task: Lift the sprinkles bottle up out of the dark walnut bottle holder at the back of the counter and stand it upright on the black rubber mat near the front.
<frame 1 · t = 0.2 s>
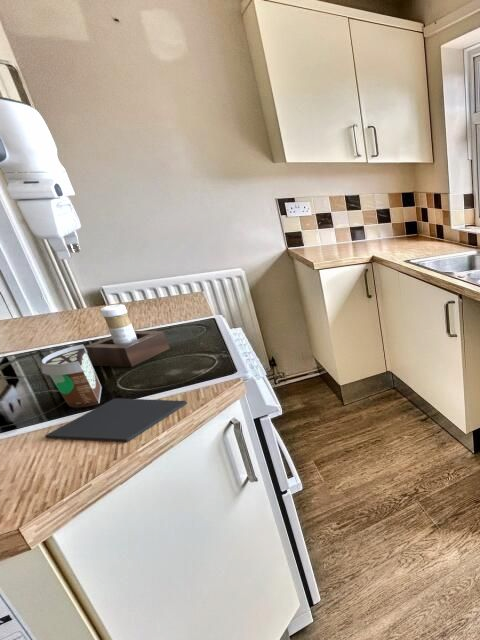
hand: (71, 255, 91), 27 cm above the worktop, tool pointing down, fingers open, 8 cm apart
sprinkles bottle: (132, 357, 107), resting in bottle holder
rubber mat: (121, 419, 80), on the worktop
food container: (81, 401, 87), on the worktop
bottle holder: (132, 356, 107), on the worktop
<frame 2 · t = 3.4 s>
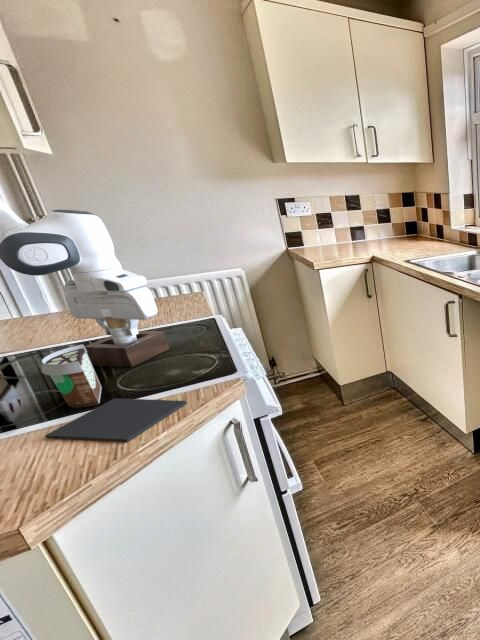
hand: (123, 334, 105), 6 cm above the worktop, tool pointing down, fingers closed on sprinkles bottle, 4 cm apart
sprinkles bottle: (132, 357, 107), resting in bottle holder, touching gripper
everything else where it was.
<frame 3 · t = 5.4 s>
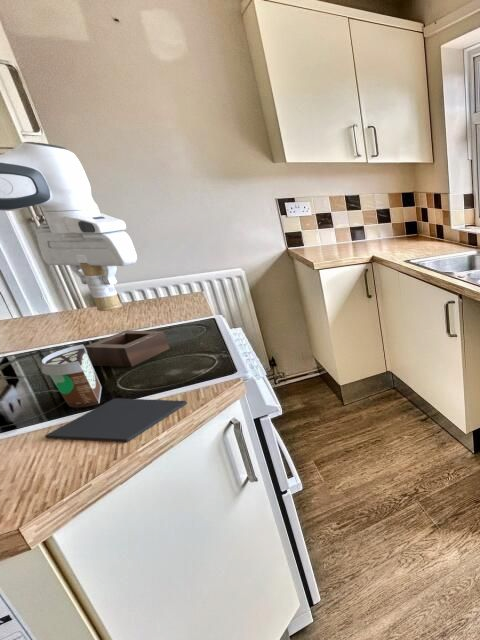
hand: (100, 284, 99), 19 cm above the worktop, tool pointing down, fingers closed on sprinkles bottle, 4 cm apart
sprinkles bottle: (110, 309, 101), point 13 cm above the worktop, touching gripper
everything else where it was.
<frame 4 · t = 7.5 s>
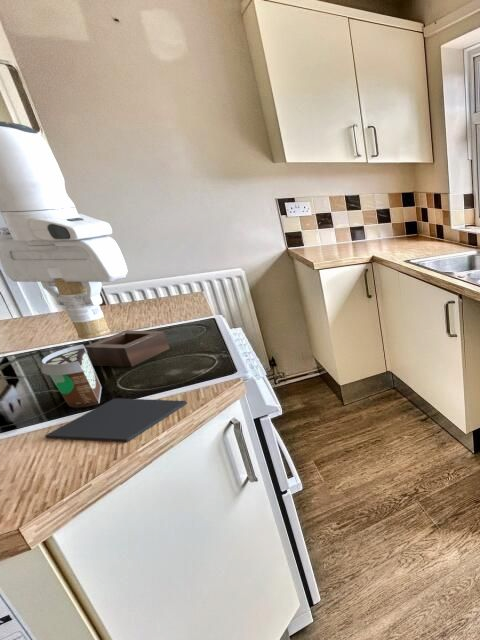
hand: (81, 304, 77), 21 cm above the worktop, tool pointing down, fingers closed on sprinkles bottle, 4 cm apart
sprinkles bottle: (95, 336, 79), point 15 cm above the worktop, touching gripper
everything else where it was.
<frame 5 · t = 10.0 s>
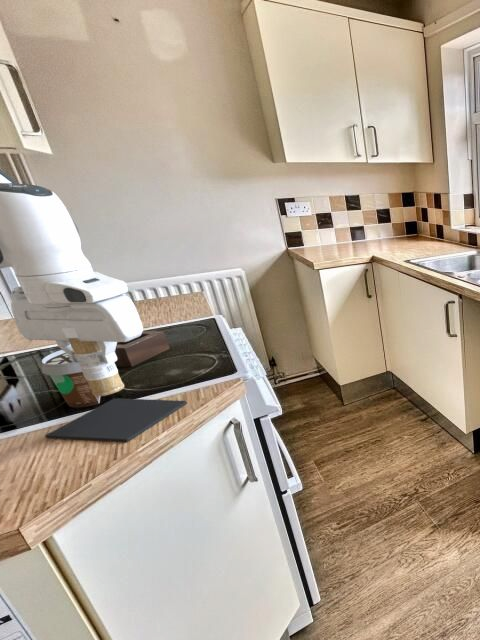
hand: (95, 361, 76), 12 cm above the worktop, tool pointing down, fingers closed on sprinkles bottle, 4 cm apart
sprinkles bottle: (109, 392, 78), point 6 cm above the worktop, touching gripper
everything else where it was.
when the fingers open (7 cm above the worktop, at t = 11.8 s): sprinkles bottle stays where it is, resting on rubber mat.
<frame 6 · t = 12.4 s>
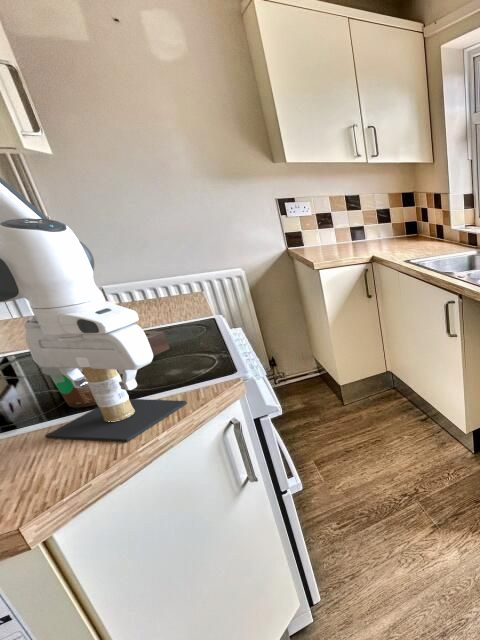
hand: (106, 387, 77), 7 cm above the worktop, tool pointing down, fingers open, 8 cm apart
sprinkles bottle: (120, 417, 80), resting on rubber mat
everything else where it was.
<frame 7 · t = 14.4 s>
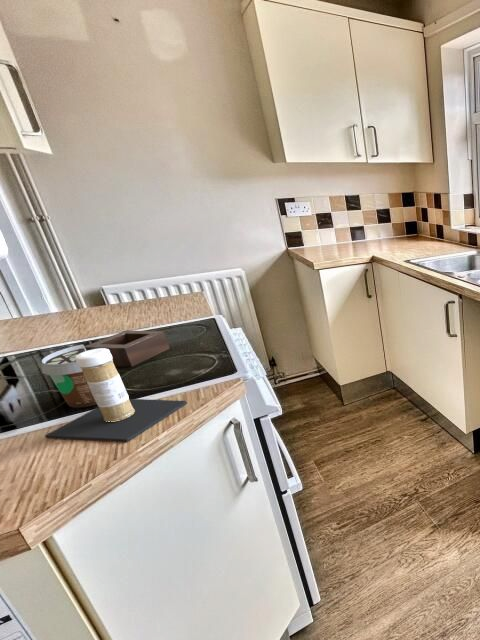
nothing on the worktop moved.
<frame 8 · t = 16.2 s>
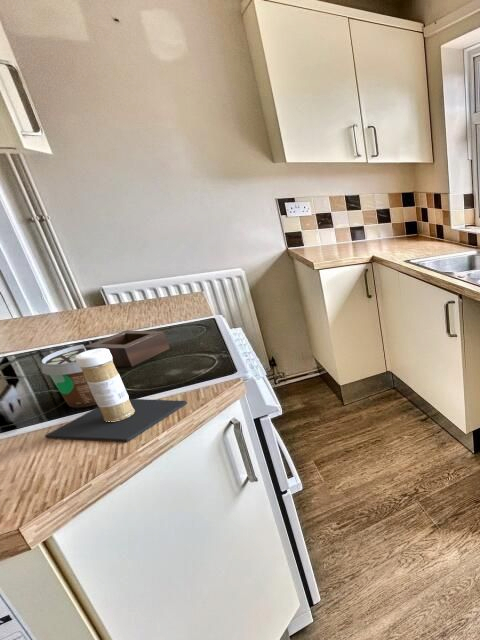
nothing on the worktop moved.
at the end: sprinkles bottle inside the target area on the rubber mat (0.1 cm from its centre), point 0.4 cm above the rubber mat's base; sprinkles bottle tilted 0°; the gripper is holding nothing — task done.
